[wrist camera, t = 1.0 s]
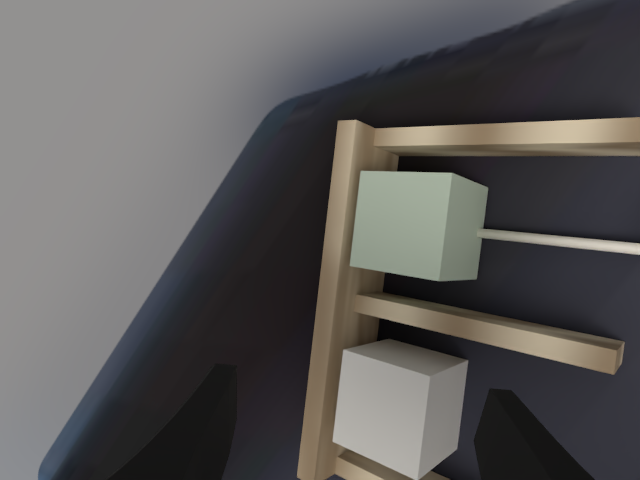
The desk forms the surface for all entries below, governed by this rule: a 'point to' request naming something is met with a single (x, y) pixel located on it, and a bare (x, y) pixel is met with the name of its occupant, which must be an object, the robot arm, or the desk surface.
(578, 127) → the lane rack
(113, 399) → the desk surface
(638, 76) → the desk surface
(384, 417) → the grey block
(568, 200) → the desk surface
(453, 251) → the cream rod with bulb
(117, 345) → the desk surface
